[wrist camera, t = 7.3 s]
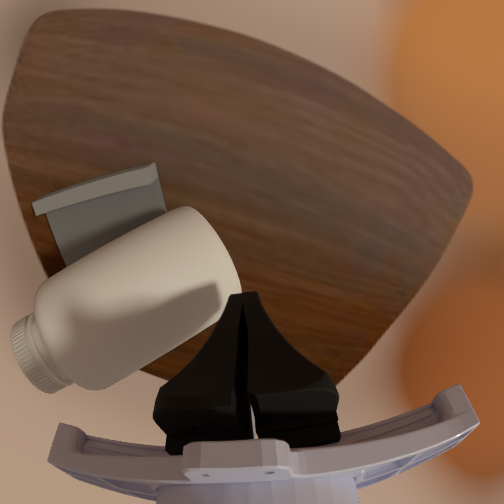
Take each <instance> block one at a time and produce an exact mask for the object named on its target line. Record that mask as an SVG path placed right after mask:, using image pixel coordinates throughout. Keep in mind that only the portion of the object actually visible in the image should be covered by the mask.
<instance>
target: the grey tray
mask: <svg viewBox="0 0 504 504" xmlns="http://www.w3.org/2000/svg"><path fill="white" fill-rule="evenodd" d="M32 205H33V208H34V211H35V214H36V216H37V215H40V214H43V213H46V216H47V218H48V221H49V224H50V227H51V230H52V232H53V235H54V238H55V240H56V243H57V245H58V248H59V250H60V253H61V255H62V257H63V260H64V262H65V264H66V266H67V267H68V266H69V265H71V264H73V263H74V262H76V261H78V260H80V259H81V258H83V257H85V256H86V255H88V254H90V253H92V252H93V251H95V250H97V249H99V248H100V247H102V246H104V245H106V244H108V243H109V242H111V241H113V240H115V239H117V238H119V237H121V236H122V235H124V234H126V233H128V232H130V231H132V230H134V229H136V228H138V227H139V226H141V225H143V224H145V223H147V222H149V221H151V220H153V219H155V218H157V217H159V216H161V215H163V214H165V213H167V211H166V207H165V203H164V199H163V195H162V190H161V186H160V182H159V177H158V173H157V168H156V164H155V162H153V163H148V164H144V165H140V166H136V167H132V168H129V169H125V170H121V171H117V172H114V173H110V174H107V175H103V176H100V177H97V178H94V179H90V180H87V181H84V182H81V183H78V184H75V185H72V186H69V187H66V188H63V189H60V190H57V191H55V192H52V193H49V194H46V195H44V196H42V197H41V198H39V199H37V200H36V201H34V202H33V203H32Z"/></svg>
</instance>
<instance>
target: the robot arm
mask: <svg viewBox="0 0 504 504" xmlns="http://www.w3.org/2000/svg"><path fill="white" fill-rule="evenodd" d="M338 402H339V394H338V391H337V389H336V387H335V385H334V383H333V381H332V380H331V378H330V377H329V375H328V374H327V372H325V371H324V370H322V369H320V368H319V367H317V366H316V365H314V364H313V363H312V362H310V361H309V360H308V359H306V358H305V357H304V356H303V355H302V354H301V353H299V352H298V351H297V350H296V349H295V348H294V347H293V346H292V345H291V344H290V343H289V342H288V341H287V340H286V339H285V338H284V337H283V336H282V334H281V333H280V332H279V331H278V329H277V328H276V327H275V325H274V324H273V322H272V321H271V319H270V318H269V316H268V315H267V313H266V311H265V309H264V308H263V305H262V303H261V301H260V298H259V295H258V292H256V291H253V292H245V293H237V294H231V295H230V296H229V298H228V301H227V303H226V306H225V308H224V311H223V313H222V315H221V317H220V319H219V321H218V323H217V325H216V327H215V328H214V330H213V332H212V333H211V335H210V337H209V338H208V340H207V341H206V343H205V344H204V345H203V347H202V348H201V350H200V351H199V352H198V353H197V354H196V356H195V357H194V358H193V359H192V360H191V361H190V362H189V364H188V365H186V366H185V367H184V368H183V369H182V370H181V371H180V372H179V373H178V374H177V375H176V376H175V377H174V378H172V379H171V380H170V381H168V382H167V383H166V384H165V385H163V386H162V387H160V389H159V392H158V395H157V397H156V401H155V406H154V411H153V419H154V421H155V422H156V424H157V425H158V426H159V427H160V428H161V429H162V430H163V431H164V433H166V435H167V437H166V445H165V447H164V446H153V445H143V444H135V443H127V442H121V441H115V440H109V439H103V438H99V437H94V436H89V435H86V434H85V432H83V431H82V430H81V429H79V428H77V427H75V426H72V425H68V424H64V423H59V425H58V428H57V431H56V434H55V437H54V440H53V443H52V447H51V450H50V453H49V457H48V462H49V463H50V464H52V465H54V466H55V467H57V468H58V469H60V470H62V471H63V472H65V473H67V474H68V475H70V476H72V477H74V478H75V479H78V480H80V481H83V482H86V483H89V484H92V485H95V486H99V487H102V488H106V489H108V490H112V491H116V492H119V493H122V494H126V495H130V496H134V497H139V498H143V499H147V500H152V501H157V502H156V504H360V502H359V497H358V493H357V489H361V488H363V487H366V486H369V485H372V484H375V483H378V482H380V481H383V480H386V479H388V478H391V477H393V476H395V475H398V474H400V473H402V472H404V471H407V470H409V469H411V468H413V467H416V466H418V465H420V464H422V463H424V462H426V461H428V460H430V459H432V458H434V457H436V456H438V455H439V454H442V453H443V452H445V451H447V450H449V449H451V448H453V447H455V446H456V445H457V444H458V443H459V442H461V441H462V440H463V439H464V438H465V437H466V436H467V435H468V434H469V433H471V432H472V431H473V430H474V429H475V428H476V427H477V426H478V425H479V424H480V421H479V419H478V417H477V415H476V413H475V411H474V409H473V407H472V406H471V403H470V402H469V400H468V398H467V396H466V394H465V392H464V390H463V389H462V387H461V386H460V384H456V385H454V386H452V387H450V388H447V389H445V390H443V391H441V392H440V393H438V394H437V395H436V396H435V397H434V399H433V401H432V403H429V404H427V405H424V406H422V407H420V408H417V409H415V410H412V411H409V412H406V413H404V414H401V415H398V416H395V417H392V418H390V419H386V420H383V421H380V422H377V423H374V424H370V425H367V426H364V427H360V428H356V429H352V430H349V431H344V432H340V430H339V426H338V422H337V421H338V416H337V412H336V410H337V406H338ZM254 417H255V426H254ZM255 428H256V434H257V435H258V439H255Z"/></svg>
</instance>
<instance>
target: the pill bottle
mask: <svg viewBox="0 0 504 504" xmlns="http://www.w3.org/2000/svg"><path fill="white" fill-rule="evenodd" d="M237 293H242V291H241V285H240V281H239V278H238V275H237V272H236V269H235V267H234V264H233V262H232V260H231V258H230V256H229V254H228V252H227V250H226V248H225V246H224V244H223V243H222V241H221V240H220V238H219V236H218V235H217V233H216V232H215V231H214V229H213V228H212V227H211V225H210V224H209V223H208V222H207V220H206V219H205V218H204V217H203V216H202V215H201V214H200V213H199V212H197V211H196V210H195V209H193V208H191V207H187V206H184V207H180V208H177V209H175V210H171V211H169V212H167V213H165V214H163V215H161V216H159V217H157V218H155V219H153V220H151V221H149V222H147V223H145V224H143V225H141V226H139V227H138V228H136V229H134V230H132V231H130V232H128V233H126V234H124V235H122V236H121V237H119V238H117V239H115V240H113V241H111V242H109V243H108V244H106V245H104V246H102V247H100V248H99V249H97V250H95V251H93V252H92V253H90V254H88V255H86V256H85V257H83V258H81V259H80V260H78V261H76V262H74V263H73V264H71V265H69V266H68V267H66V268H64V269H63V270H61V271H60V272H58V273H56V274H55V275H53V276H51V277H50V278H48V279H47V280H46V281H44V282H43V284H42V285H41V286H40V287H39V289H38V290H37V292H36V295H35V299H34V313H32V314H30V315H29V316H26V317H24V318H22V319H21V320H19V321H18V322H16V323H15V324H14V325H13V327H12V330H11V336H10V337H11V346H12V350H13V353H14V356H15V358H16V360H17V363H18V365H19V366H20V368H21V370H22V371H23V373H24V374H25V376H26V377H27V378H28V379H29V381H30V382H31V383H32V384H33V385H34V386H35V387H37V388H38V389H39V390H41V391H43V392H45V393H49V394H50V393H51V394H52V393H55V392H57V391H59V390H61V389H62V388H64V387H66V386H69V385H71V384H73V382H74V383H76V384H77V385H79V386H81V387H83V388H85V389H89V390H101V389H105V388H107V387H109V386H111V385H113V384H115V383H117V382H118V381H120V380H122V379H123V378H125V377H127V376H128V375H130V374H132V373H133V372H135V371H137V370H139V369H140V368H142V367H144V366H145V365H147V364H149V363H150V362H152V361H154V360H155V359H157V358H159V357H160V356H162V355H164V354H165V353H167V352H169V351H170V350H172V349H173V348H175V347H177V346H178V345H180V344H182V343H183V342H185V341H186V340H188V339H190V338H191V337H193V336H194V335H196V334H198V333H199V332H201V331H202V330H204V329H205V328H207V327H209V326H210V325H212V324H213V323H215V322H216V321H218V320H219V319H220V317H221V315H222V313H223V311H224V308H225V306H226V303H227V301H228V298H229V296H230V295H231V294H237Z"/></svg>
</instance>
